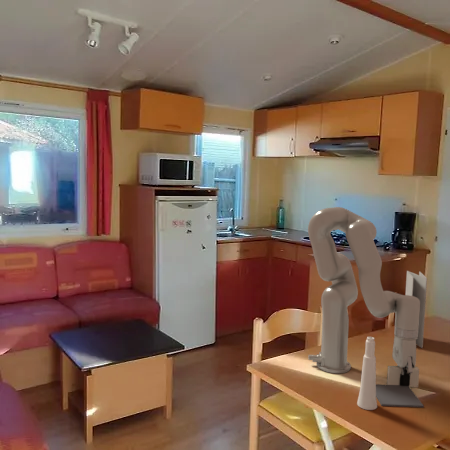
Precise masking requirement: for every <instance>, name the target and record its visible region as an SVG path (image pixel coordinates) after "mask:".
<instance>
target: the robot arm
mask: <svg viewBox="0 0 450 450" xmlns="http://www.w3.org/2000/svg"><path fill="white" fill-rule="evenodd" d="M337 230H339V231H341V232H343V233H344V234H345V238H346V240H347V243H348V245H349V248H350V251H351V253H352V256H353V258H354V261H355V264H356V266H357V269H358V283H359V288H360V292H361V296H362V298H363V301H364V303H365V306H366V308H367V310H368V311H369V313H370V314H371V315H372V316H374V317H375V318H385V317H387V316H389V315H390V314H393V313H395V315H394V316H395V318H394V332H393V333H394V338H393V345H392V346H393V347H392V354H391V355H392V359H393V360H394V362H395V364H396V365H397V366H399V367H401V368H402V370H401V374H400V386H409V385H410V375H411V373H412V368H415V367H416V362H417V345H416V339H418V327H419V311H420V301H419V299H418V298H417V297H414V296H409V295H406V294H405V295H404V294H401V293H398V292H394V291H391V290H384V288H383V285H382V282H381V270H382V265H383V262H382V258H381V255H380V252H379V250H378V248H377V245H376V243H375V241H374V240H375V239H376V236H377V234H378V233H377V227H376V226H375V224H374V223H373V222H371V221H370V220H369V219H366V218H364V217H362V216H361V215H359V214H357V213H355V212H353V211H351V210H349V209H347V208H344V207H341V206H335V207H327V208H323V209H320V210H318V211H317V212H315V213H314V214H313V215H312V217H311V218H310V219H309V222H308V225H307V234H308V238H309V242H310V245H311V249H312V253H313V257H314V261H315V265H316V270H317V274H318V276H319V278H320V279H322V281H324V282H331V285H328V286H327V287H326V288H324V290H323V291H322V294H321V299H320V300H321V313H322V316H321V317H322V318H321V319H322V321H321V349H320V350H321V351H319V354H308V356H307V357H308V358H307V359H308V360H309V361H310V360H311V361H312V362H313V363H316V367H317V368H318V369H319V370H321V371H324V372H327V373H331V374H345V373H348V372H350V371H351V369H352V366H351V364H350V362H348V346H349V345H348V344H349V323H350V321H349V313H348V306H349V307H350V306H351V305H352V304H353V303H354V302H356V300H357V299H358V294H359V289H358V284H357V281H356V277H355V273H354V270H353V269H354V268H353V265H352V263H351V261H350V259H349V258H348V257H347V256H346V255H345V254H343V253H339V252H338V251H337V247H336V243H335V241H334V239H333V237H332V235H331V232H332V231H337ZM404 368H406V369H405V370H404Z"/></svg>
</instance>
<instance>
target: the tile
mask: <svg viewBox="0 0 450 450" xmlns="http://www.w3.org/2000/svg"><path fill="white" fill-rule="evenodd" d="M405 369H406V368H404V370H405ZM401 370H402V368H401V367H399V366H398V365H388V366H387V375H386V376H387V377H386V385H400V374H401ZM419 378H420V368H419V367H418V366H415V368H412V373H411V375H410V385H409V387H410V388H419V380H420V379H419Z"/></svg>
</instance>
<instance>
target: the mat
mask: <svg viewBox="0 0 450 450" xmlns="http://www.w3.org/2000/svg"><path fill="white" fill-rule="evenodd" d="M376 400H377V402H379V404H380V406H381V407H399V408H403V407H404V408H424V407H425V406H424V404H423V403H422V402H421V400H420V399H419V398H418V396H417V395H416V393H414V391H413V389H411V387H409V386H400V385H387V384H381V383H380V384H379V383H377V384H376Z"/></svg>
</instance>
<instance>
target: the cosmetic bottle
mask: <svg viewBox="0 0 450 450" xmlns="http://www.w3.org/2000/svg"><path fill="white" fill-rule="evenodd" d="M375 349H376V341H375V337H373V336H367V337H366V340H365V352H364V355H363V358H362V367H361V377H360V378H361V379H360V387H359V393H358V397H357V402H356V405H357V406H358V407H359V408H361V409H363V410H366V411H367V410H368V411H373V410H376V409H377V408H378V403H377V402H378V399H377V397H376V382H377V381H376V380H377V378H376V377H377V375H376V374H377V373H376V371H377V367H376V366H377V362H376V361H377V358H376V356H375V352H376V351H375Z"/></svg>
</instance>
